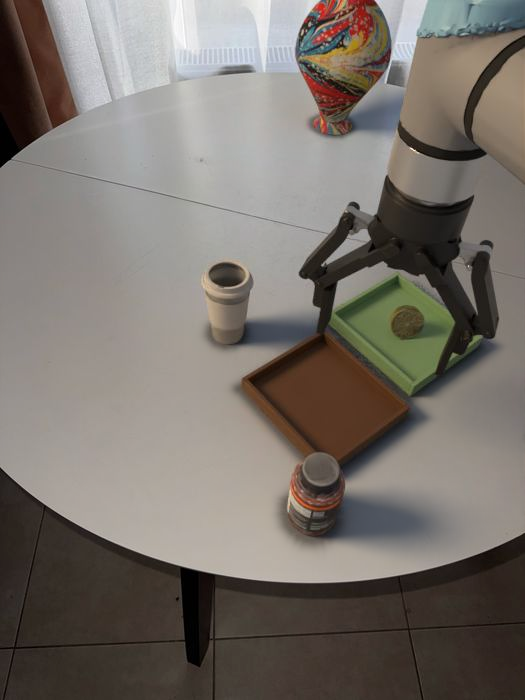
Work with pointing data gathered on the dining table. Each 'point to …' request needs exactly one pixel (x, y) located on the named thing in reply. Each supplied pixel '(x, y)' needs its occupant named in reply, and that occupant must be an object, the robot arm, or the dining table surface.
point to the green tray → (383, 346)
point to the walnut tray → (325, 398)
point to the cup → (227, 298)
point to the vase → (342, 57)
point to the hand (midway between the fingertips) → (380, 346)
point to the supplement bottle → (315, 494)
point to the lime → (406, 321)
